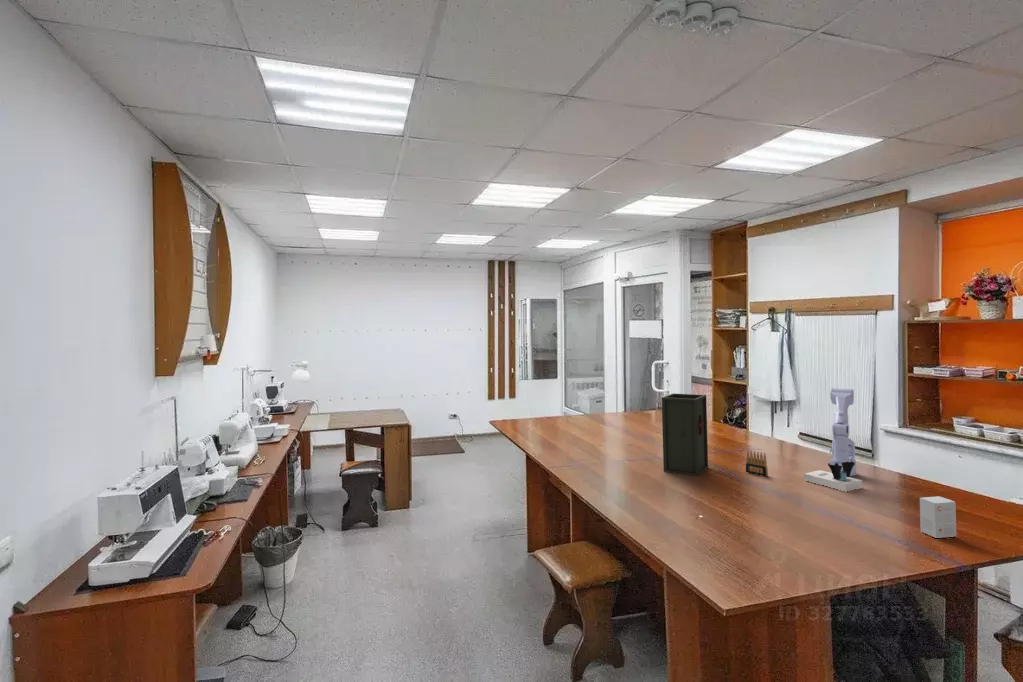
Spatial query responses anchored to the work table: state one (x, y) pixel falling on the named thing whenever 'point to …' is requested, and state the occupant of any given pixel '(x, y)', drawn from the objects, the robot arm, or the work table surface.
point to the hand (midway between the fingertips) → (841, 478)
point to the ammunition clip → (756, 464)
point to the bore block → (832, 481)
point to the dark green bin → (685, 433)
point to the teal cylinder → (842, 476)
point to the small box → (938, 516)
